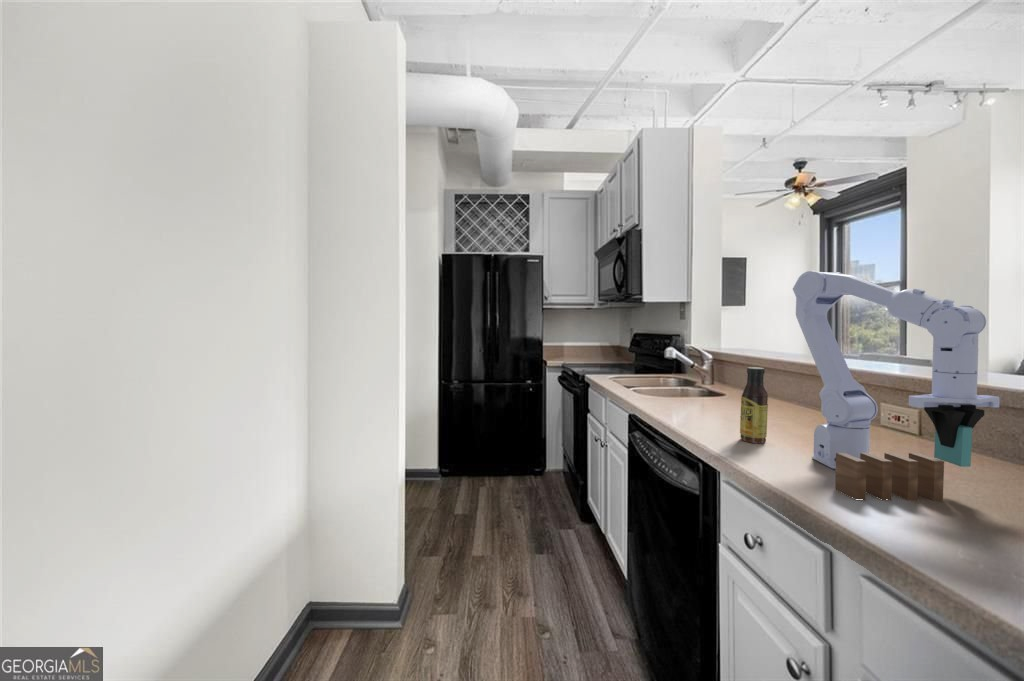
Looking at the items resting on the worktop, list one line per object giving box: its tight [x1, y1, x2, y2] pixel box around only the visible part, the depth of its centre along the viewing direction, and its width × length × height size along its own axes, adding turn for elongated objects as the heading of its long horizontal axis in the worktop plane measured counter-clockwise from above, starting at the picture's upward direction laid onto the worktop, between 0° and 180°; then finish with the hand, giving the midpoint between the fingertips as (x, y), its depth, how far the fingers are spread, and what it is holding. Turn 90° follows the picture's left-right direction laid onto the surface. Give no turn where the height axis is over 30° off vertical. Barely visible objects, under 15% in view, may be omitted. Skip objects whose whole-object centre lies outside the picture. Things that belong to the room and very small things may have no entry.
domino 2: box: [860, 452, 892, 501], centre depth 77 cm, size 2×5×7 cm, turn 179°
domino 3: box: [883, 452, 918, 501], centre depth 77 cm, size 2×5×7 cm, turn 179°
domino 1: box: [834, 453, 867, 501], centre depth 77 cm, size 2×5×7 cm, turn 179°
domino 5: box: [933, 425, 973, 468], centre depth 77 cm, size 2×5×7 cm, turn 178°
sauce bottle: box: [739, 366, 769, 444], centre depth 113 cm, size 7×6×20 cm
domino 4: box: [908, 452, 945, 501], centre depth 77 cm, size 2×5×7 cm, turn 179°
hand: (952, 446), depth 77 cm, fingers closed on domino 5, 1 cm apart
